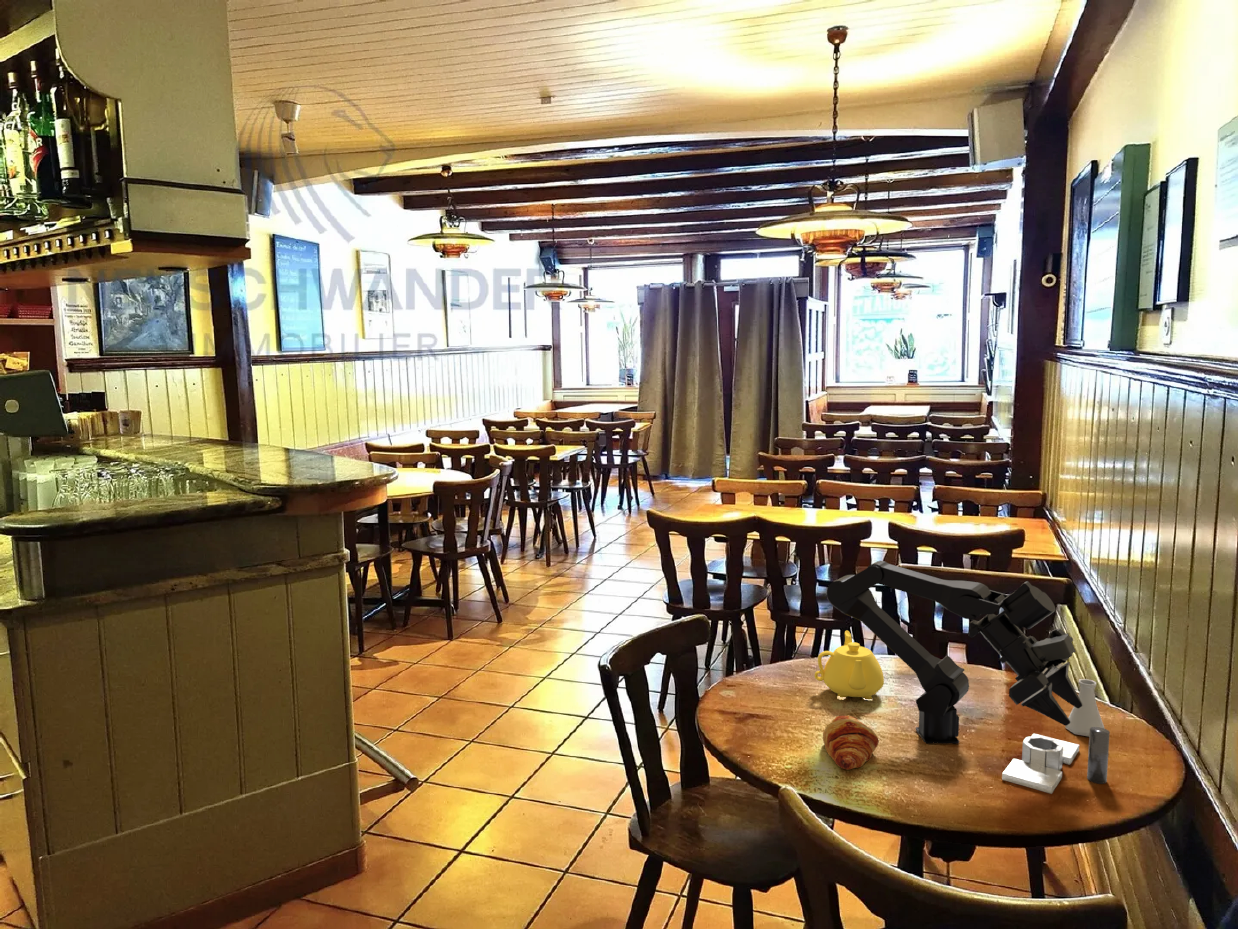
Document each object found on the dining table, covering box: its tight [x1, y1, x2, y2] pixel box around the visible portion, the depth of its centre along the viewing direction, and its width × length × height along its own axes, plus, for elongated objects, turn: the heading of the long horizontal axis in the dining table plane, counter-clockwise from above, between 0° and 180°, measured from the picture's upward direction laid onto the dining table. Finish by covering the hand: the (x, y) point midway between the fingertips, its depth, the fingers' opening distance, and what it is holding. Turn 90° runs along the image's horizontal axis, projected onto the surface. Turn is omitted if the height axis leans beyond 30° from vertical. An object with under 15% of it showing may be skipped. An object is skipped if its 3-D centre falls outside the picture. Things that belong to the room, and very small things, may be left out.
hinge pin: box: [1086, 727, 1110, 785], centre depth 150 cm, size 3×3×9 cm
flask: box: [1064, 678, 1106, 737], centre depth 169 cm, size 7×7×10 cm
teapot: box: [814, 630, 885, 699], centre depth 189 cm, size 20×15×12 cm
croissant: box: [822, 715, 880, 771], centre depth 162 cm, size 21×10×8 cm, turn 165°
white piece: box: [1001, 733, 1080, 795], centre depth 156 cm, size 8×20×4 cm, turn 140°
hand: (1074, 715), depth 152 cm, fingers open, 9 cm apart
